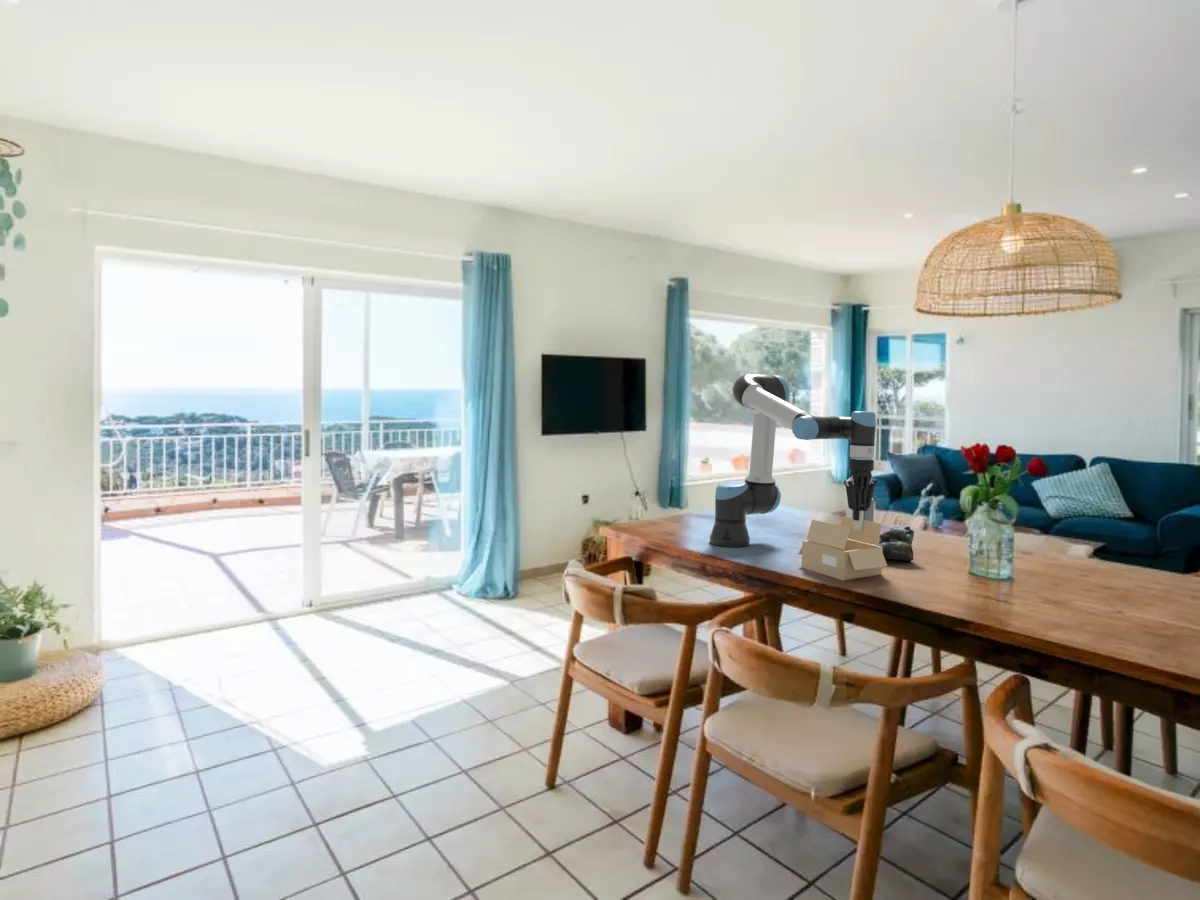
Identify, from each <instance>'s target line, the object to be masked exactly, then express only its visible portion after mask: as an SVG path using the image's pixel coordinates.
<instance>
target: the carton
mask: <svg viewBox="0 0 1200 900" xmlns="http://www.w3.org/2000/svg"><path fill="white" fill-rule="evenodd" d="M798 555H799V556H800V555H801V568H802V569H804V570H808V571H811V572H815V573H818V574H821V575H825V576H828V577H832V578H834V579H837V580H840V581H842V582H843V581H848V580H849V581H850V580H856V579H863V578H868V577H877V576H882V574H883V573H882V572H883V570H882V569H883V567H884V568H885V567H888V564H887V561H886V559H885V558H884V556H883V547H880V546H877V545H874V544H868V543H864V542H860V541H855V540H851V539H847V542H846V545H845V549H844V550H843V549H839V548H835V547H832V546H828V545H824V544H820V543H816V542H812V541H809V540H807V539H805V540H802V546H801V548H800V550H799V551H798Z"/></svg>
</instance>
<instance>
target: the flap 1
mask: <svg viewBox="0 0 1200 900" xmlns="http://www.w3.org/2000/svg"><path fill="white" fill-rule="evenodd" d="M849 531H850V528H848V527H844V526H841V525H838V524H834V523H829V522H825V521H821V520H817V519H811V523H810V526H809V529H808V533H807V537H806V540H809V541H812V542H816V543H820V544H824V545H828V546H832V547H835V548H839V549H843V550H844V549H845V545H846V542H847V538H848V534H849Z"/></svg>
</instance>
